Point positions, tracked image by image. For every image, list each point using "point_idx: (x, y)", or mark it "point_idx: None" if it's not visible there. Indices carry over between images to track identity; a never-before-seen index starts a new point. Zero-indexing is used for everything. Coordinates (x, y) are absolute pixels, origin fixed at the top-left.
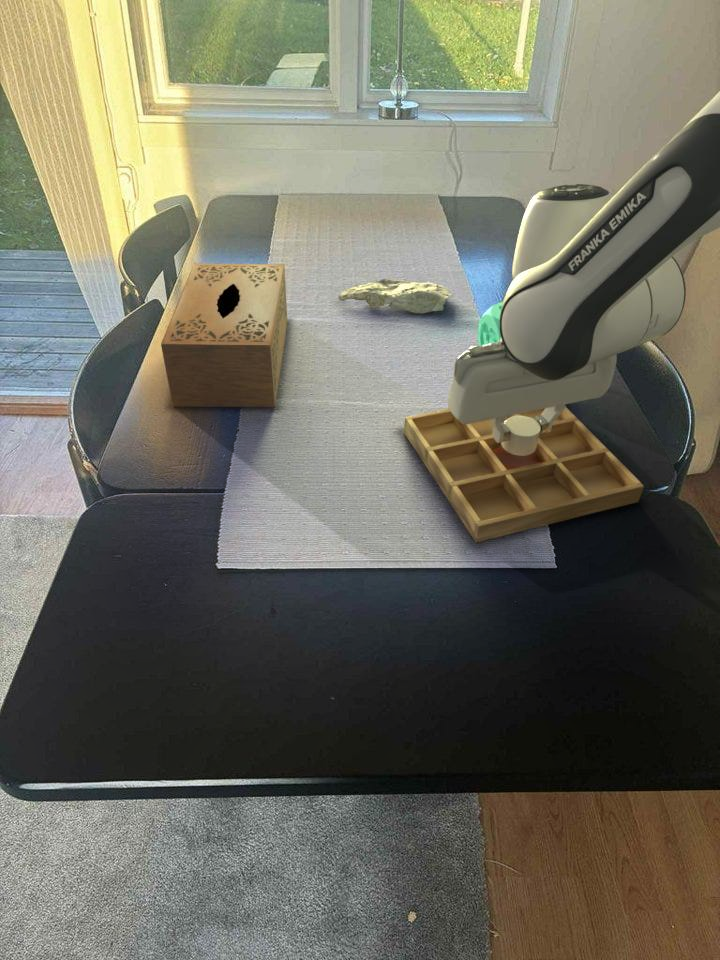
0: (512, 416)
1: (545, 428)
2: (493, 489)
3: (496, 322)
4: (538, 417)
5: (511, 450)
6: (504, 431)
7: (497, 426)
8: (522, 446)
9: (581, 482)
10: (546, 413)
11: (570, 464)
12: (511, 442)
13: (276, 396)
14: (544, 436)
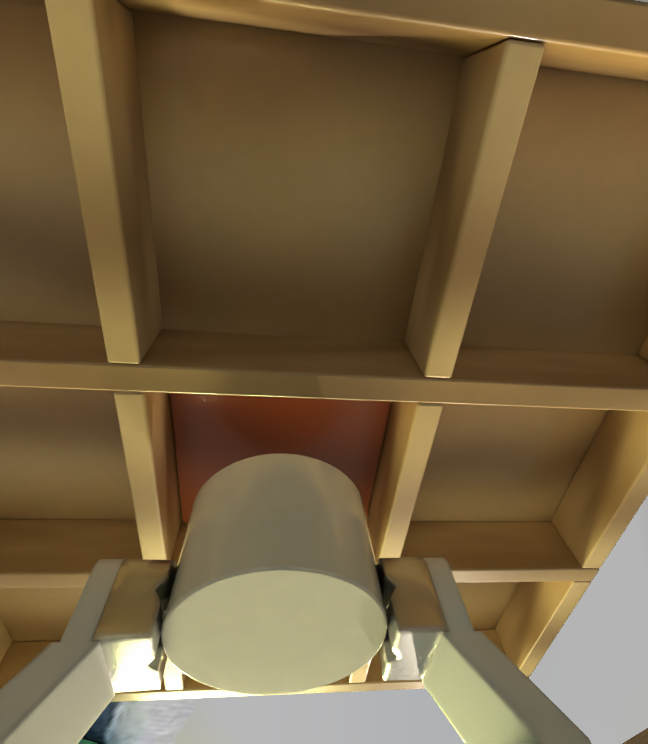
0: (283, 693)
1: (130, 594)
2: (472, 343)
3: None
4: (145, 680)
5: (358, 498)
6: (448, 635)
7: (542, 699)
8: (325, 506)
9: (31, 228)
10: (80, 713)
11: (48, 344)
12: (369, 544)
13: (638, 736)
14: (88, 527)
